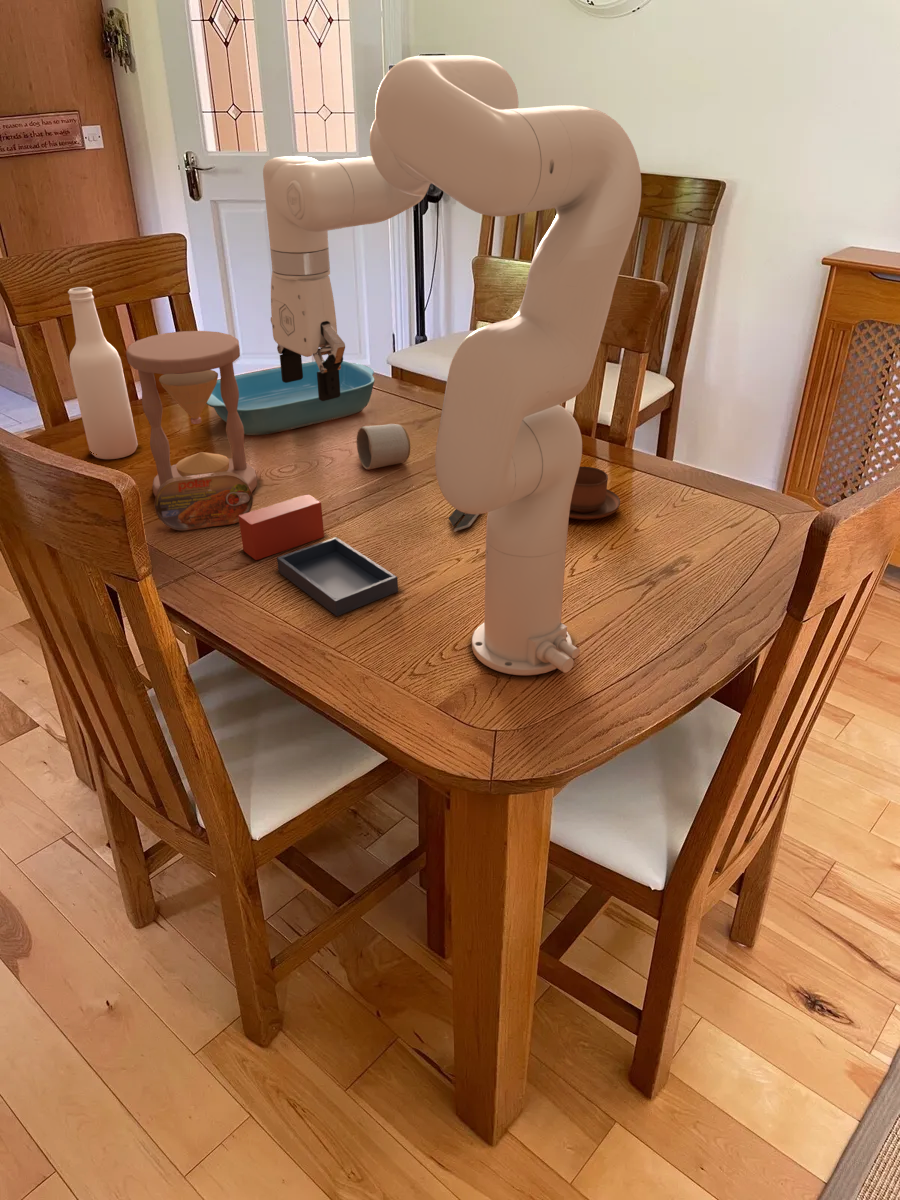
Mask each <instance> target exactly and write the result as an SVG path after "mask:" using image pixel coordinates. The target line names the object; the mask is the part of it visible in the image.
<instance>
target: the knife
mask: <svg viewBox="0 0 900 1200" xmlns="http://www.w3.org/2000/svg"><path fill="white" fill-rule="evenodd" d="M479 515H480V514H467V513H464V512H461V511H459V510H457V509H454V511H453V512H452V513H451V514H450V516H448V520H449V522H450V524H451V525H452V527H454V529H453V533H454V532H458V531H460V530H464V529H467V528H469V527H471V526H472V524H473V523H474V522H475V520H476V519H477V518H478V516H479Z"/></svg>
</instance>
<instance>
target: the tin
mask: <svg viewBox="0 0 900 1200" xmlns="http://www.w3.org/2000/svg"><path fill="white" fill-rule="evenodd" d="M253 504H254V497H253V491H252V492H251V490H250V487H249V485H248V484H247V482H246V481H245V480H244V479H243V478H242V477H241V476H239V475H237V474H235V473H232V472H226V471H224V472H215V473H207V474H199V475H191V476H183V477H175V478H172V479H169V480H167V481H166V482H165V483H163V484H162V485H161V487H160V488H159V490H158V492H157V494H156V496H155V498H154V505H153V506H154V512H155V514H156V516H157V518H158V520H159V521H160V522H161V523H162V524H163V525H165V526H166V527H168V528H169V529H170V528H171V529H172V530H175V531H182V532H184V531H193V530H199V529H205V528H206V529H207V528H213V527H221V526H229V525H230V526H231V525H234V524H237V523H239V517H238V515H241V514H245V513H248V512H251V510H252V507H253Z"/></svg>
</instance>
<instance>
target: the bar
mask: <svg viewBox="0 0 900 1200" xmlns="http://www.w3.org/2000/svg"><path fill="white" fill-rule="evenodd" d="M238 517H239V522H238V523H239V530H240V539H241V544H242V550H243V552H244V553H245V554H247V555H248V556H249V557H251V558H252V559H253V560H255V561H258V560H262V559H264V558H267V557H270V556H273V555H276V554H278V553H282V552H285V551H287V550H291V549H293V548H296V547H300V546H302V545H305V544H308V543H310V542H313V541H316V540H319V539H323V538H325V531H324V530H325V529H324V519H323V509H322V502H321V501H320V500H318V499H317V498H315V497H313V496H312V495H310V494H308V493H306V494H303V495H300V496H297V497H293V498H290V499H287V500H283V501H280V502H277V503H274V504H270V505H267V506H265V507H261V508H257V509H254V510H252V511H251V510H250V512H248V513H245V514H241V515H238Z"/></svg>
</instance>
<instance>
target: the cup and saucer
mask: <svg viewBox="0 0 900 1200" xmlns="http://www.w3.org/2000/svg"><path fill="white" fill-rule="evenodd" d="M608 480H609V476H608V474H607V472H606V471H604V470H602V469H600V468H597V467H593V466H580V467H579V471H578V475H577V479H576V483H575V486H574V490H573V494H572V499H571V505H570V512H569V519H572V520H573V519H574V520H581V521H582V520H583V521H589V520H590V521H591V520H599V519H604V518H606V517H608V516H610V515H612V514H613V513H615V512H617V510H618V509H619V507H620V505H621V499H620V497H619V496H618V495H617V494H616V493H615V492H613V491H611V489H608V482H609V481H608Z"/></svg>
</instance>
